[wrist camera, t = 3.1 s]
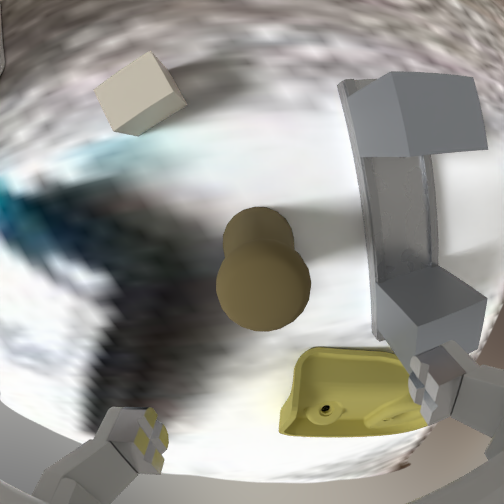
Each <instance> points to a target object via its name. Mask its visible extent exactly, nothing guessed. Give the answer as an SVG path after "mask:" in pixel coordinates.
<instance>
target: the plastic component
mask: <svg viewBox="0 0 504 504" xmlns="http://www.w3.org/2000/svg"><path fill="white" fill-rule="evenodd" d="M409 376H410V375H409V374H408V372H407V371H406V369H405V368H404V366H403V365H402V363H401V362H400V360H399V359H398V357H397V356H396V354H392V353H387V352H382V351H363V350H347V349H334V348H323V347H316V348H312V349H309V350H308V351H306V352H305V353H303V354H302V355H301V356H300V358H299V359H298V361H297V363H296V365H295V368H294V376H293V384H292V390H291V393H290V396H289V398H288V399H287V401H286V402H285V404H284V405H283V407H282V408H281V411H280V422H279V433H281V434H284V435H289V436H301V437H367V436H382V435H392V434H399V433H404V432H409V431H413V430H417V429H420V428H423V427H426V426H428V425H427V423H426V421H425V420H424V418H423V416H422V415H421V413H420V410H421V405H418V404H416V403H414V401H413V399H412V398H411V395H410V393H409V387H408V380H409ZM325 405H329V406H330V408H329V410H327V411H321V409H322V407H323V406H325Z"/></svg>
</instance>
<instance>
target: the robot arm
mask: <svg viewBox="0 0 504 504" xmlns="http://www.w3.org/2000/svg"><path fill="white" fill-rule="evenodd" d="M4 66H5V59H4V51H3V40H2V27H1V4H0V75H1V73H2V71H3V69H4ZM410 367H411V369H412V370H413V371H412V373H411V374H410V376H409V380H408V387H409V393H410V395H411V398H412V399H413V401H414V403H416V404H418V405H421V410H420V413H421V415H422V416H423V418H424V420H425V421H426V423H427V425H428V426H429V425H432V424H434V423H436V422H439V421H441V420H443V419H445V418H448V417H450V416H451V417H452V418H453V419H455V420H457V421H459V422H461V423H463V424H465V425H467V426H469V427H471V428H473V429H475V430H477V431H479V432H481V433H483V434H485V435H487V436H489V437H491V438H492V440H491V441H490V443H489V445H488V447H487V448H486V450H485V453H484V454H485V455H486V457H487V459H488V461H487V462H485V463H484V464H482V465H481V466H479V467H477V468H476V469H474V470H472V471H471V472H469V473H467V474H466V475H464V476H462V477H460V478H459V479H457V480H455V481H453V482H451V483H449V484H447V485H445V486H443V487H441V488H439V489H437V490H435V491H433V492H431V493H429V494H427V495H425V496H422V497H421V498H418V499H415V500H413V501H411V502H408V503H406V504H504V370H502V369H498V368H494V367H490V366H487V365H482V366H479V365H478V364H477V363H476V362H475V361H474V360H473V359H472V358H471V357H470V356H469V355H468V354H467V353H466V352H465V351H464V350H463V349H462V348H461V347H460V346H459V345H458V344H457V343H456V342H455V341H453V340H450V341H448V342H446V343H444V344H441V345H439V346H437V347H434V348H432V349H430V350H427V351H425V352H422V353H420V354H417V355H415V356H412V358H411V362H410ZM157 416H158V415H157V414H156V412H155V411H154V409H153V408H149V407H111V408H110V409H109V410H108V412H107V414H106V416H105V418H104V420H103V421H102V423H101V425H100V427H99V429H98V431H97V433H96V435H95V437H94V439H93V440H92V439H90V440H88V441H87V442H85V443H84V444H82V445H81V446H80V447H78V448H77V449H75V450H74V451H72V452H71V453H69V454H68V455H66V456H65V457H64V458H62V459H61V460H59V461H58V462H56V463H55V464H53V465H52V466H50V467H48V468H47V469H45V470H44V472H43V474H42V476H41V478H40V480H39V482H38V484H37V486H36V487H35V489H34V491H33V493H32V495H29V494H27V493H25V492H23V491H21V490H19V489H17V488H15V487H13V486H11V485H9V484H7V483H5V482H3V481H2V480H0V504H111V503H112V501H113V500H114V499H115V498H116V497H117V496H118V495H119V494H120V493H121V492H122V491H123V490H124V489H125V488H126V487H127V486H128V485H129V484H130V483H131V482H132V481H133V480H134V479H135V478H136V477H137V476H138V474H156V475H160V474H161V471H162V467H163V463H164V458H163V456H162V454H163V453H164V452H165V451H166V450H167V448H168V443H169V441H168V433H167V430H166V428H165V426H164V425H163V424H162V423H161V422H159V421H158V420H156V419H157ZM137 473H138V474H137Z"/></svg>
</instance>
